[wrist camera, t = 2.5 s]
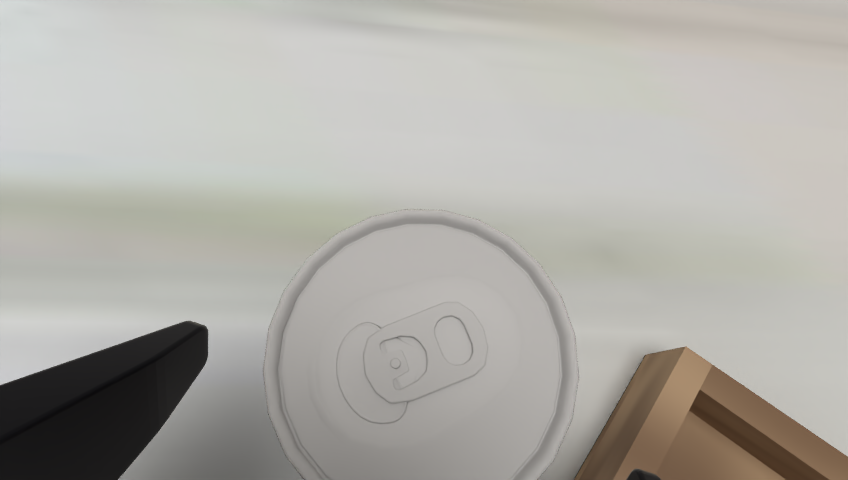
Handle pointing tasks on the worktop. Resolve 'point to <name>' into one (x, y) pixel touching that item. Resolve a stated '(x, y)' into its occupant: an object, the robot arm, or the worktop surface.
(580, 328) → the worktop surface
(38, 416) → the robot arm
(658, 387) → the walnut socket
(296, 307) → the beverage can
